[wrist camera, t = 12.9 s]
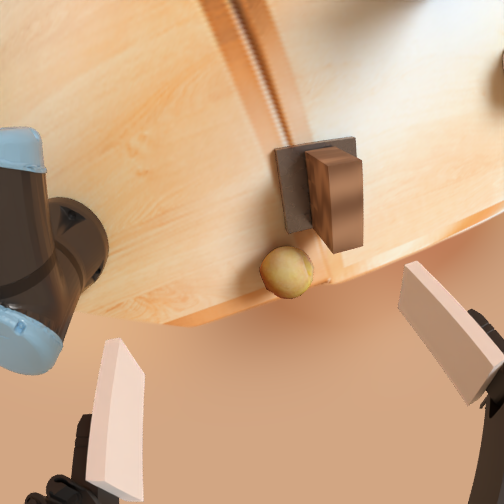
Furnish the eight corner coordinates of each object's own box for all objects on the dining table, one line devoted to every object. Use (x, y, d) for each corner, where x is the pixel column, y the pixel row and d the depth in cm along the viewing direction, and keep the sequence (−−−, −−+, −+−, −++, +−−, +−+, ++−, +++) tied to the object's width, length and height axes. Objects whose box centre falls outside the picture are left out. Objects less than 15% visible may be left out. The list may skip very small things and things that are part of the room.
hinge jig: (286, 230, 48) (292, 241, 45) (274, 148, 41) (281, 154, 38) (355, 214, 48) (365, 223, 45) (352, 136, 41) (363, 141, 38)
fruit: (303, 273, 52) (319, 303, 46) (255, 279, 51) (265, 311, 44) (306, 234, 49) (325, 260, 42) (255, 238, 47) (266, 267, 41)
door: (339, 221, 47) (363, 246, 40) (312, 227, 47) (333, 254, 40) (334, 146, 41) (361, 160, 34) (304, 151, 40) (328, 166, 33)
